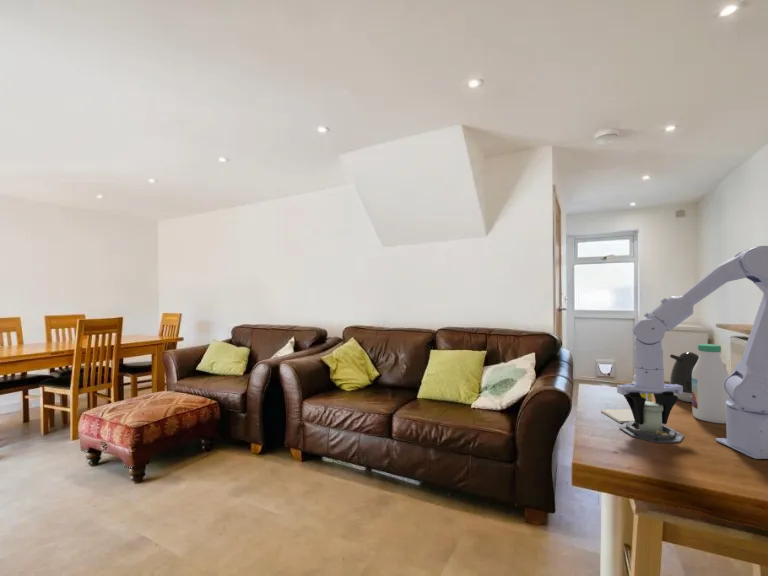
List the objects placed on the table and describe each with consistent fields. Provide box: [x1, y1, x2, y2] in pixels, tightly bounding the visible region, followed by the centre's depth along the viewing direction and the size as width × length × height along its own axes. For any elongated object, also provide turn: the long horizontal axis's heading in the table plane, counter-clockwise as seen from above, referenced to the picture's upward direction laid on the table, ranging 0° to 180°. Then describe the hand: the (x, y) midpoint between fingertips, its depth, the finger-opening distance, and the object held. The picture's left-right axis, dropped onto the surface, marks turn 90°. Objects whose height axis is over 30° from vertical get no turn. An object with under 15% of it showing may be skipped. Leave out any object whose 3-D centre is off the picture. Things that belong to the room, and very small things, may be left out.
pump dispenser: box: [669, 351, 699, 404], centre depth 113 cm, size 10×10×15 cm
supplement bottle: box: [631, 374, 653, 402], centre depth 112 cm, size 5×5×8 cm
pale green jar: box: [638, 401, 663, 434], centre depth 90 cm, size 6×5×7 cm
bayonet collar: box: [619, 421, 685, 444], centre depth 89 cm, size 12×12×2 cm
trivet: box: [600, 408, 635, 424], centre depth 100 cm, size 9×9×1 cm
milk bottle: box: [691, 343, 730, 424], centre depth 98 cm, size 8×8×20 cm
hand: (650, 422), depth 90 cm, fingers closed on pale green jar, 5 cm apart
